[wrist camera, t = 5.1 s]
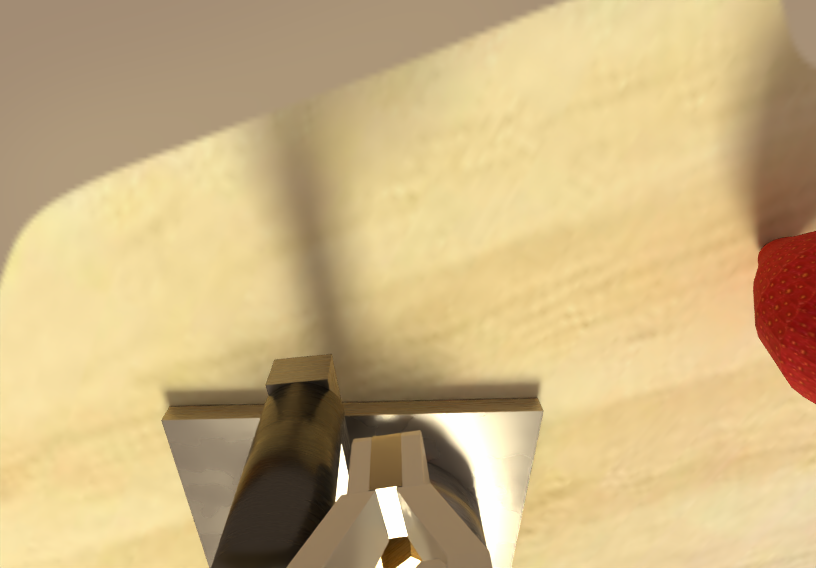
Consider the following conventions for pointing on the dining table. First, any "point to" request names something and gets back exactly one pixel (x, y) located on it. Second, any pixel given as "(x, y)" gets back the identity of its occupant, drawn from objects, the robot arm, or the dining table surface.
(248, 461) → the ring nut
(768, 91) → the dining table surface
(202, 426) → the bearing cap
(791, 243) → the strawberry
